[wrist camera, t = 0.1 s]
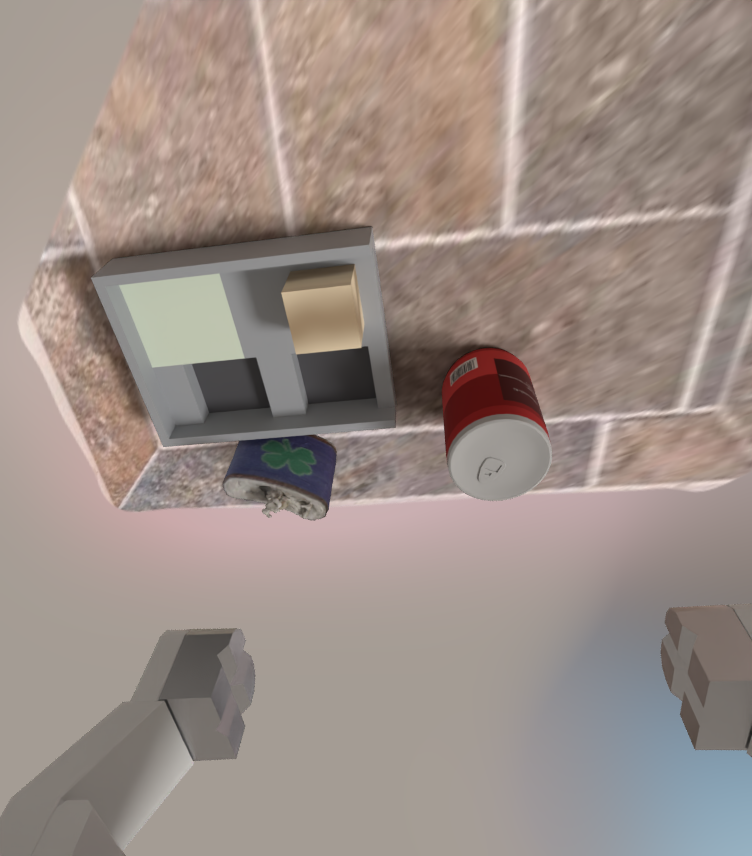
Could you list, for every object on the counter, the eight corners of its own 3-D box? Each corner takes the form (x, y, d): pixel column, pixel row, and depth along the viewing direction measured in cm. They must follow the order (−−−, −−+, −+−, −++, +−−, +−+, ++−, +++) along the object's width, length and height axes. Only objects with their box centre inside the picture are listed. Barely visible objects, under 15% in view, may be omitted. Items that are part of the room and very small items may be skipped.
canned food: (433, 415, 56) (438, 495, 47) (451, 338, 51) (460, 411, 42) (515, 426, 56) (535, 508, 47) (540, 350, 51) (567, 426, 42)
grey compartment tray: (112, 258, 48) (90, 277, 45) (372, 226, 46) (369, 244, 42) (177, 421, 57) (163, 447, 54) (396, 401, 55) (395, 427, 52)
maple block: (290, 271, 46) (281, 292, 43) (354, 263, 45) (350, 284, 42) (303, 330, 49) (296, 354, 46) (364, 323, 48) (361, 347, 45)
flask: (241, 438, 58) (213, 508, 49) (248, 413, 56) (220, 481, 47) (333, 465, 59) (322, 538, 50) (342, 441, 58) (332, 513, 49)
